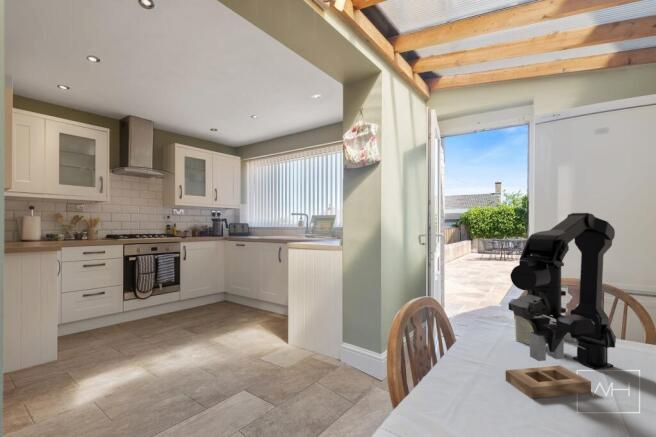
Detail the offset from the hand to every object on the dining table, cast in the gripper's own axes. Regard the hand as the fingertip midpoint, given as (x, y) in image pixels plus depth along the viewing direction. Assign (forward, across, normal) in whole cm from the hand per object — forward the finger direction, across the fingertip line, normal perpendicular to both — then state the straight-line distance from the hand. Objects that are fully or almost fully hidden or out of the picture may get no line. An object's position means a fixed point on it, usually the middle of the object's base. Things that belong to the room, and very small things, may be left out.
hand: (546, 349), depth 74 cm
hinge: (+9, -29, +31) cm, 44 cm away
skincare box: (+9, -24, +17) cm, 31 cm away
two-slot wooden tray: (+9, 0, 0) cm, 9 cm away
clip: (+2, 0, 0) cm, 2 cm away
